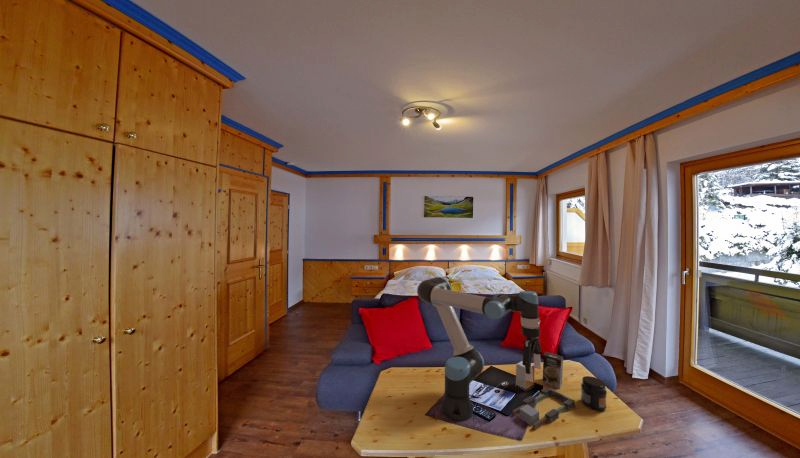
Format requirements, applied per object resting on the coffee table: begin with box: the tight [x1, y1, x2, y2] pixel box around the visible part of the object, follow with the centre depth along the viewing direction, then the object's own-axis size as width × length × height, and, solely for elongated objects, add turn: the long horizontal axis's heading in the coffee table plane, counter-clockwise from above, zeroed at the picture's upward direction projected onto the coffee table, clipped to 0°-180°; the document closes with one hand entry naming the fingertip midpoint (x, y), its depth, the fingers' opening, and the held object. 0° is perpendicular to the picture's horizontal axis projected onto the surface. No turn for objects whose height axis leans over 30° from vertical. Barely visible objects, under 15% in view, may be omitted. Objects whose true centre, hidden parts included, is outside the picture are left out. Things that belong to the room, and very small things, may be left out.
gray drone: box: [511, 386, 576, 431], centre depth 134 cm, size 14×32×3 cm, turn 123°
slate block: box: [518, 405, 540, 427], centre depth 127 cm, size 6×6×4 cm
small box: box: [515, 360, 536, 389], centre depth 153 cm, size 8×6×13 cm
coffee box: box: [542, 351, 564, 390], centre depth 157 cm, size 9×6×16 cm
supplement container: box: [580, 375, 608, 411], centre depth 139 cm, size 10×10×12 cm
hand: (533, 374), depth 124 cm, fingers open, 13 cm apart
